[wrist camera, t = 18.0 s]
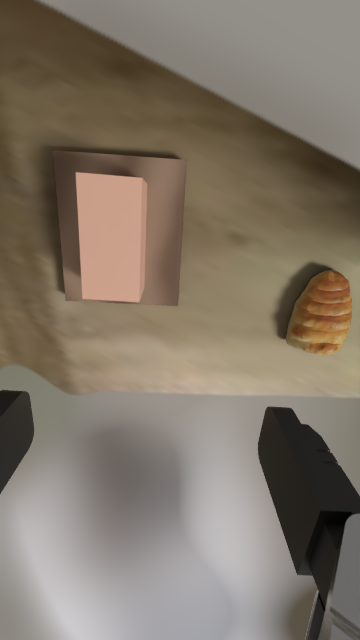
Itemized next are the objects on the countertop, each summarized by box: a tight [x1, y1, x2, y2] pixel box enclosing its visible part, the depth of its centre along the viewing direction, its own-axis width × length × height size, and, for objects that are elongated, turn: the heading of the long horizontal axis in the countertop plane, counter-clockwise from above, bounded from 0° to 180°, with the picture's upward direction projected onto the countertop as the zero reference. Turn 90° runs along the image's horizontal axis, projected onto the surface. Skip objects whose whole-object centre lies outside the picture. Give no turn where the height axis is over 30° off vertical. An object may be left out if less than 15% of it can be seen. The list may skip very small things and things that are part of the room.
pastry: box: [286, 270, 352, 355], centre depth 31 cm, size 9×7×4 cm
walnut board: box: [52, 150, 187, 306], centre depth 28 cm, size 12×14×2 cm
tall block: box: [76, 172, 147, 302], centre depth 25 cm, size 5×5×10 cm
